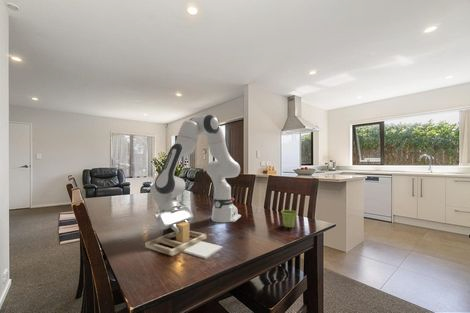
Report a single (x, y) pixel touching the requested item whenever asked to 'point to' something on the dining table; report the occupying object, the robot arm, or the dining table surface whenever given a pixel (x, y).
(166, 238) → the puzzle board
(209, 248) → the white square plate
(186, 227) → the ochre block
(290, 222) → the plant pot
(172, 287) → the dining table surface
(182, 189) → the robot arm
